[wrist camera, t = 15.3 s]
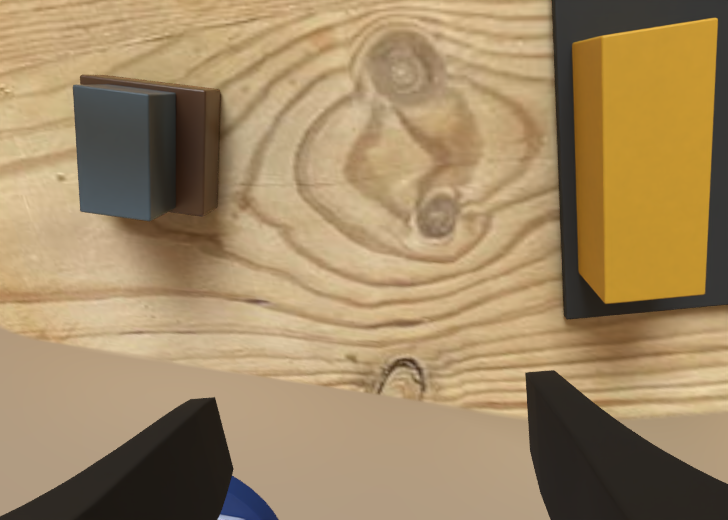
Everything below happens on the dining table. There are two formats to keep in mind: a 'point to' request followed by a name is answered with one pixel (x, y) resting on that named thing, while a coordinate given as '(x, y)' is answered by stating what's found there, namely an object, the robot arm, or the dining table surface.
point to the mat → (573, 24)
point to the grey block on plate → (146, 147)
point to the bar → (644, 159)
